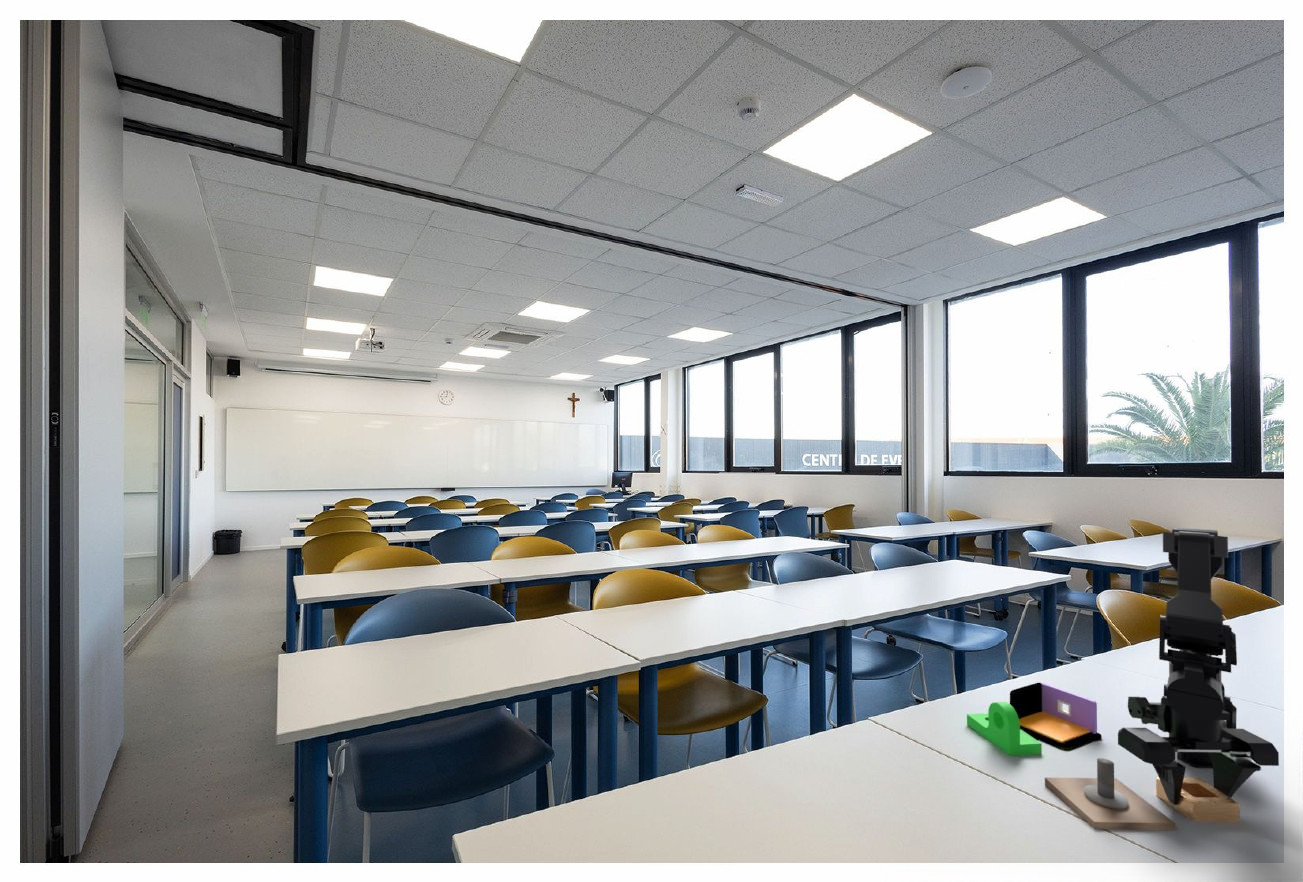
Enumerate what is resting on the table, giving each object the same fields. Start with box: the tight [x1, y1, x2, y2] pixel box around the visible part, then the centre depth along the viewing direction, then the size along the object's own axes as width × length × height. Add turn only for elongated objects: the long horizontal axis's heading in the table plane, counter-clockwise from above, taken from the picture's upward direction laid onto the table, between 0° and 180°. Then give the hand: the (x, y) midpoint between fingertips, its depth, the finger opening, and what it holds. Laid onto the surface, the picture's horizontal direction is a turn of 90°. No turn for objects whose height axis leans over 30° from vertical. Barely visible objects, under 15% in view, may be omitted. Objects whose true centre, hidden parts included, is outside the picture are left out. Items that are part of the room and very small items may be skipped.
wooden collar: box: [1155, 777, 1241, 823], centre depth 87 cm, size 6×6×3 cm
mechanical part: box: [966, 701, 1043, 756], centre depth 109 cm, size 12×6×8 cm, turn 5°
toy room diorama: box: [1009, 682, 1103, 752], centre depth 112 cm, size 12×12×7 cm
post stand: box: [1044, 757, 1177, 831], centre depth 88 cm, size 11×11×7 cm
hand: (1196, 803), depth 87 cm, fingers closed on wooden collar, 6 cm apart
